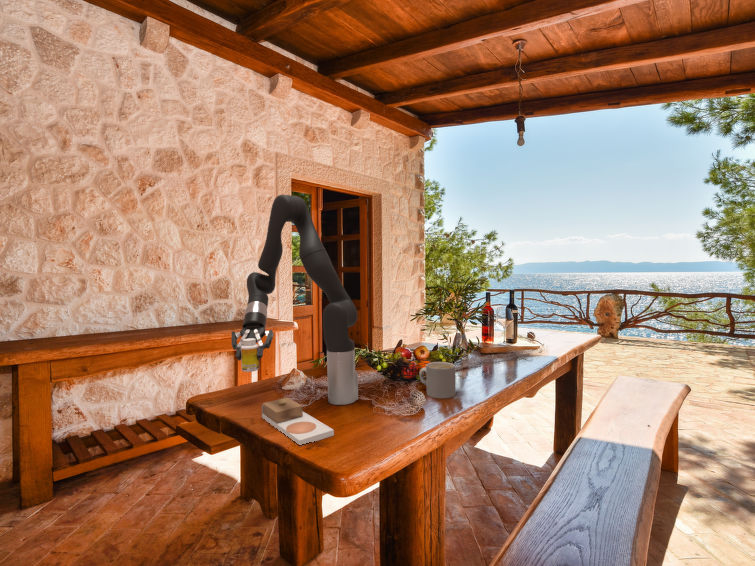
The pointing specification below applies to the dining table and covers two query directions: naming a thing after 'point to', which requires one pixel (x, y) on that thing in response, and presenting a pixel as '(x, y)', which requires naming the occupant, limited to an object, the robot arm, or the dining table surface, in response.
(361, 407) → the dining table surface
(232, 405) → the dining table surface
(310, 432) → the board
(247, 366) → the supplement bottle
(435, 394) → the coffee mug
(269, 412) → the cover
